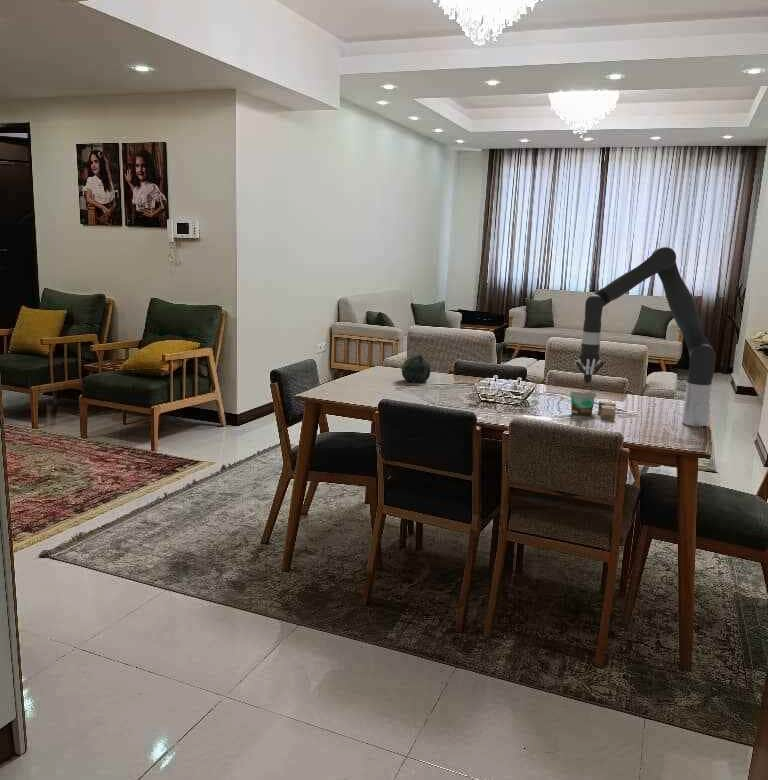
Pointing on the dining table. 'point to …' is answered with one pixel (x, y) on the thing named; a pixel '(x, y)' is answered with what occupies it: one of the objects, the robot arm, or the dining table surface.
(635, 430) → the dining table surface
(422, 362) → the squash
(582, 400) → the food container
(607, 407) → the marked block
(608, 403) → the marked block
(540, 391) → the dining table surface
